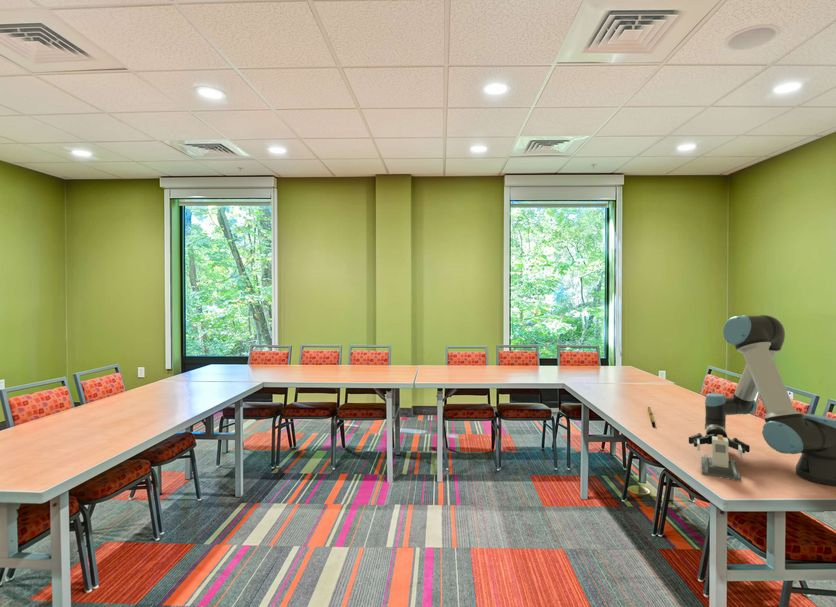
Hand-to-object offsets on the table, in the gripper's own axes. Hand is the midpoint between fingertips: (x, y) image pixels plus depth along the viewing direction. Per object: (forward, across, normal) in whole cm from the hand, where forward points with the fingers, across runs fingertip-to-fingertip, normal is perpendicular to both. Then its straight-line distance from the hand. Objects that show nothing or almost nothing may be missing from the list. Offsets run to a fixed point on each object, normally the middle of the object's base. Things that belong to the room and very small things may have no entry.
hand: (719, 450), depth 169 cm
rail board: (-5, 0, -9) cm, 10 cm away
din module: (0, 0, -8) cm, 8 cm away
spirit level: (-71, +28, -9) cm, 77 cm away
